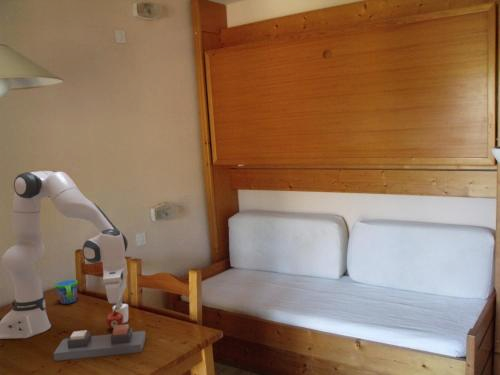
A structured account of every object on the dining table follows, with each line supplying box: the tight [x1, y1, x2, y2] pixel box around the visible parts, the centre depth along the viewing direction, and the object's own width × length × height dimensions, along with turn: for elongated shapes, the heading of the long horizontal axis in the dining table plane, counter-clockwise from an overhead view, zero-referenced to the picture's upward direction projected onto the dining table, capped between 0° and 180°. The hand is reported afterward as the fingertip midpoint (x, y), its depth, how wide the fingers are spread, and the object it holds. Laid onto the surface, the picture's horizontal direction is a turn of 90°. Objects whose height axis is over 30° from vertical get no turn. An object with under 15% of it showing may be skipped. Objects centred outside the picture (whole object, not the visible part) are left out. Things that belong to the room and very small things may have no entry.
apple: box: [105, 305, 123, 330], centre depth 213 cm, size 8×7×10 cm
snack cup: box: [54, 279, 79, 305], centre depth 252 cm, size 16×10×10 cm
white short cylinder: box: [111, 303, 129, 324], centre depth 221 cm, size 7×7×7 cm
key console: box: [53, 327, 147, 362], centre depth 193 cm, size 32×13×6 cm, turn 95°
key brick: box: [112, 323, 130, 336], centre depth 193 cm, size 5×5×3 cm
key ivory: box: [69, 330, 88, 340], centre depth 192 cm, size 5×5×3 cm
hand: (119, 306), depth 192 cm, fingers closed
